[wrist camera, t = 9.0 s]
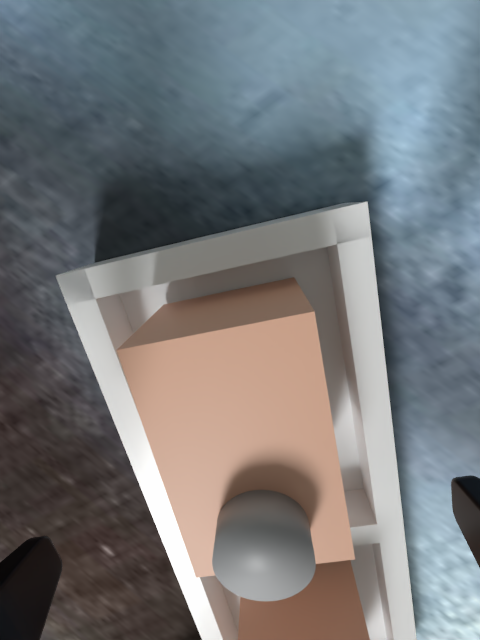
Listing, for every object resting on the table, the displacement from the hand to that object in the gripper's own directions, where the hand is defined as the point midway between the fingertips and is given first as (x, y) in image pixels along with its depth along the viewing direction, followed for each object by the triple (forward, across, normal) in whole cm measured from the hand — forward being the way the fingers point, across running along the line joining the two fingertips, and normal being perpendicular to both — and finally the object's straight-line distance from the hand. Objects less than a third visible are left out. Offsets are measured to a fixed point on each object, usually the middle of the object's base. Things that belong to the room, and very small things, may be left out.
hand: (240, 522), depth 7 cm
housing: (+6, 0, +6) cm, 8 cm away
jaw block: (+5, 0, 0) cm, 5 cm away
